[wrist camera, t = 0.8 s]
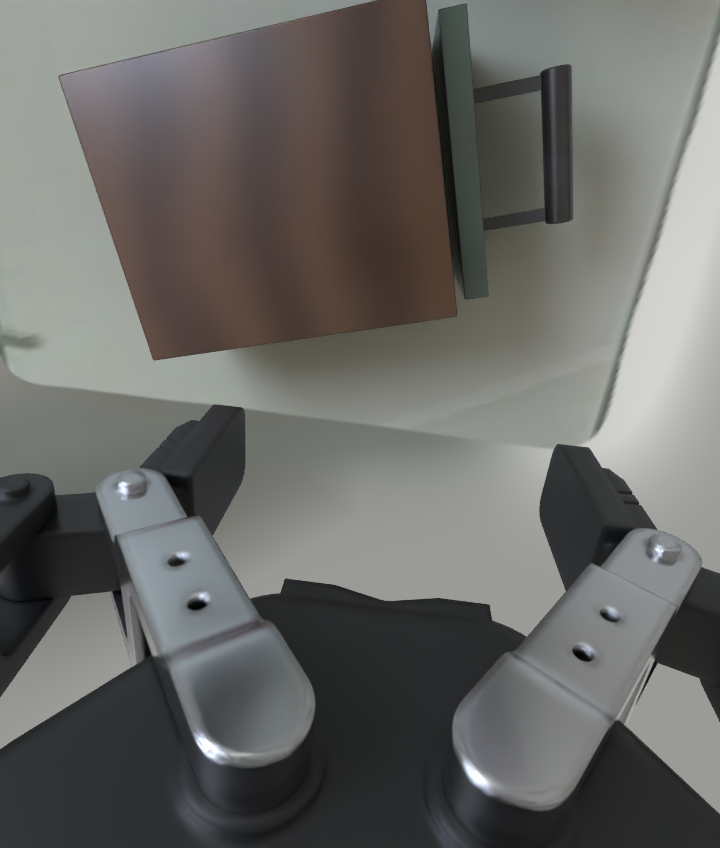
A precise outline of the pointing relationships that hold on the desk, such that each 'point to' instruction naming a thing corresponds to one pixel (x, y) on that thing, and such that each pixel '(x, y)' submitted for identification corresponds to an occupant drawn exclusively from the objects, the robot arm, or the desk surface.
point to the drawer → (463, 149)
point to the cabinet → (274, 180)
